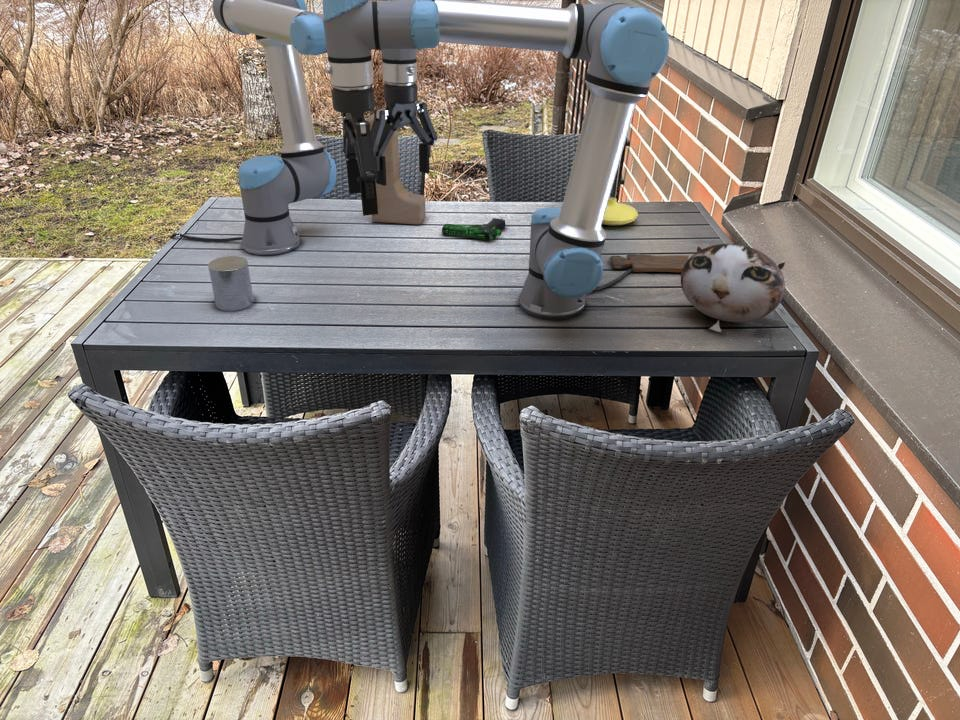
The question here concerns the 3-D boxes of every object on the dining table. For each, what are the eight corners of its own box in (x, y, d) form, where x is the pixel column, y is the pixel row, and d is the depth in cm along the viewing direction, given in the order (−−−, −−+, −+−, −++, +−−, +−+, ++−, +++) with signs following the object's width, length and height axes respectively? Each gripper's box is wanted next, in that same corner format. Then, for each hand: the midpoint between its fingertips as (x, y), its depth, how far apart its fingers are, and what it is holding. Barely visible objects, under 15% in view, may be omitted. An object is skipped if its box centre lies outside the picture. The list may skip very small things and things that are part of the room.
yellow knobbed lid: (599, 209, 226) (601, 187, 223) (645, 219, 218) (648, 197, 215) (575, 222, 215) (576, 200, 212) (622, 234, 207) (625, 211, 204)
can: (209, 309, 163) (201, 269, 158) (224, 293, 170) (217, 255, 165) (245, 312, 162) (238, 271, 157) (259, 295, 170) (253, 256, 165)
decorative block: (420, 225, 212) (417, 121, 196) (371, 222, 213) (364, 118, 198) (426, 217, 218) (423, 115, 203) (378, 214, 220) (371, 113, 204)
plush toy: (658, 308, 155) (687, 223, 157) (673, 329, 171) (700, 252, 172) (764, 333, 144) (794, 241, 146) (770, 354, 160) (797, 271, 162)
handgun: (511, 219, 210) (493, 234, 198) (511, 228, 211) (492, 244, 199) (461, 212, 215) (440, 226, 203) (461, 221, 217) (440, 236, 204)
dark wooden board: (713, 276, 184) (704, 260, 192) (715, 269, 183) (705, 255, 191) (613, 272, 184) (608, 257, 192) (614, 266, 183) (609, 251, 192)
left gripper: (367, 92, 147) (372, 193, 158) (452, 78, 163) (452, 170, 174) (344, 87, 151) (351, 185, 162) (429, 73, 167) (430, 164, 178)
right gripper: (320, 76, 135) (332, 186, 146) (343, 101, 115) (356, 227, 126) (359, 74, 137) (368, 182, 148) (389, 98, 117) (397, 221, 128)
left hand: (403, 178), depth 168 cm, fingers open, 13 cm apart
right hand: (363, 203), depth 137 cm, fingers open, 13 cm apart
